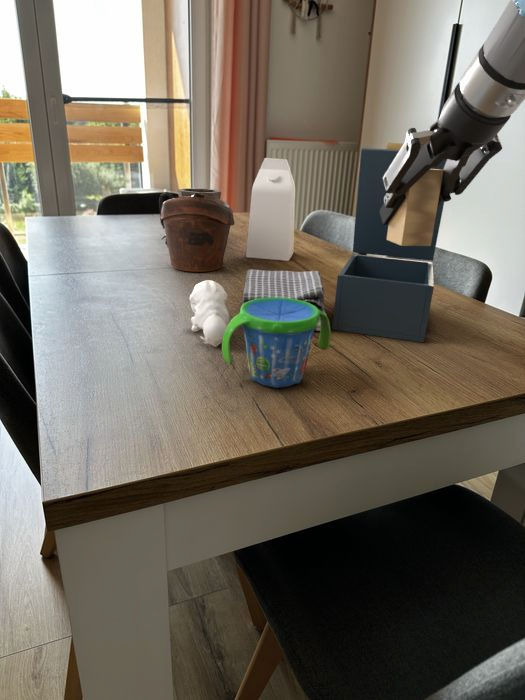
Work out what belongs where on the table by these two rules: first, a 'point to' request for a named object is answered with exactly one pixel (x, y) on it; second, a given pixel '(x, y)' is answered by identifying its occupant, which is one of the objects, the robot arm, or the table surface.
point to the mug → (189, 193)
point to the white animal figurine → (209, 311)
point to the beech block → (417, 212)
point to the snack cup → (277, 338)
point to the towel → (285, 287)
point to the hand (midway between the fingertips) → (399, 217)
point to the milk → (272, 212)
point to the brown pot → (196, 231)
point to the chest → (384, 297)
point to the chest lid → (371, 199)
